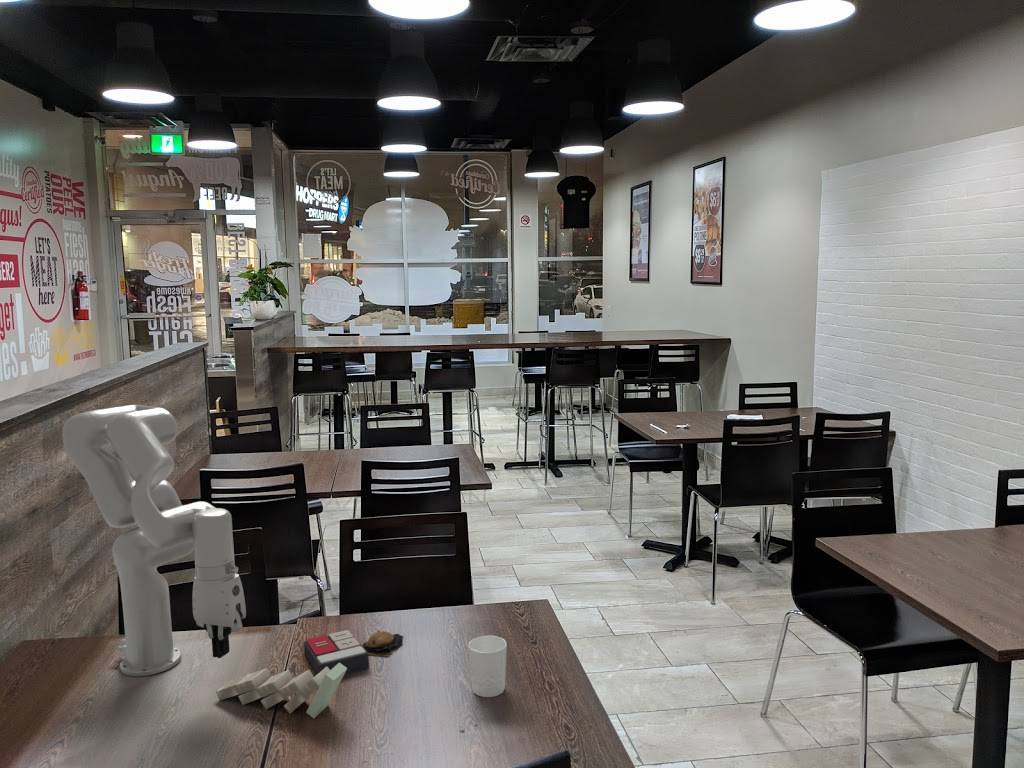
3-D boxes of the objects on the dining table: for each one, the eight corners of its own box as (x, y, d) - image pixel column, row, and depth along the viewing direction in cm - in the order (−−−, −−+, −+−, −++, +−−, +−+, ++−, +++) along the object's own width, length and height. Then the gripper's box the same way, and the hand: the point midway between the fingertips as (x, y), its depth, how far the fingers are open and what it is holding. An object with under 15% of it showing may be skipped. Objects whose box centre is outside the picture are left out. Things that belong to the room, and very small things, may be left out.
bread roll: (389, 660, 176) (389, 645, 176) (356, 656, 179) (355, 640, 178) (408, 639, 186) (408, 625, 186) (376, 635, 189) (376, 621, 188)
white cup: (513, 684, 164) (512, 639, 163) (497, 702, 157) (496, 655, 155) (480, 676, 167) (479, 632, 166) (462, 694, 160) (461, 648, 159)
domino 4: (283, 706, 154) (312, 678, 151) (298, 693, 159) (326, 666, 156) (290, 714, 154) (319, 686, 151) (304, 701, 159) (333, 673, 155)
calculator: (349, 627, 185) (368, 650, 172) (350, 645, 185) (369, 668, 172) (303, 638, 180) (319, 662, 166) (304, 656, 180) (320, 681, 167)
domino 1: (215, 691, 159) (251, 679, 156) (231, 679, 164) (267, 668, 161) (219, 700, 159) (255, 688, 156) (235, 688, 164) (271, 677, 161)
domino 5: (306, 712, 153) (325, 674, 150) (320, 699, 157) (339, 662, 154) (313, 718, 152) (333, 680, 149) (327, 705, 157) (347, 668, 154)
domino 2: (238, 696, 158) (273, 681, 154) (253, 684, 162) (288, 669, 159) (242, 705, 158) (278, 690, 154) (258, 692, 162) (293, 678, 159)
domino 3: (260, 700, 156) (294, 681, 152) (275, 688, 161) (309, 669, 157) (265, 709, 156) (300, 690, 152) (280, 696, 160) (314, 678, 157)
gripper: (257, 567, 160) (263, 651, 162) (198, 559, 164) (204, 642, 167) (233, 580, 153) (239, 668, 155) (172, 572, 157) (179, 658, 160)
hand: (221, 654), depth 161 cm, fingers closed
